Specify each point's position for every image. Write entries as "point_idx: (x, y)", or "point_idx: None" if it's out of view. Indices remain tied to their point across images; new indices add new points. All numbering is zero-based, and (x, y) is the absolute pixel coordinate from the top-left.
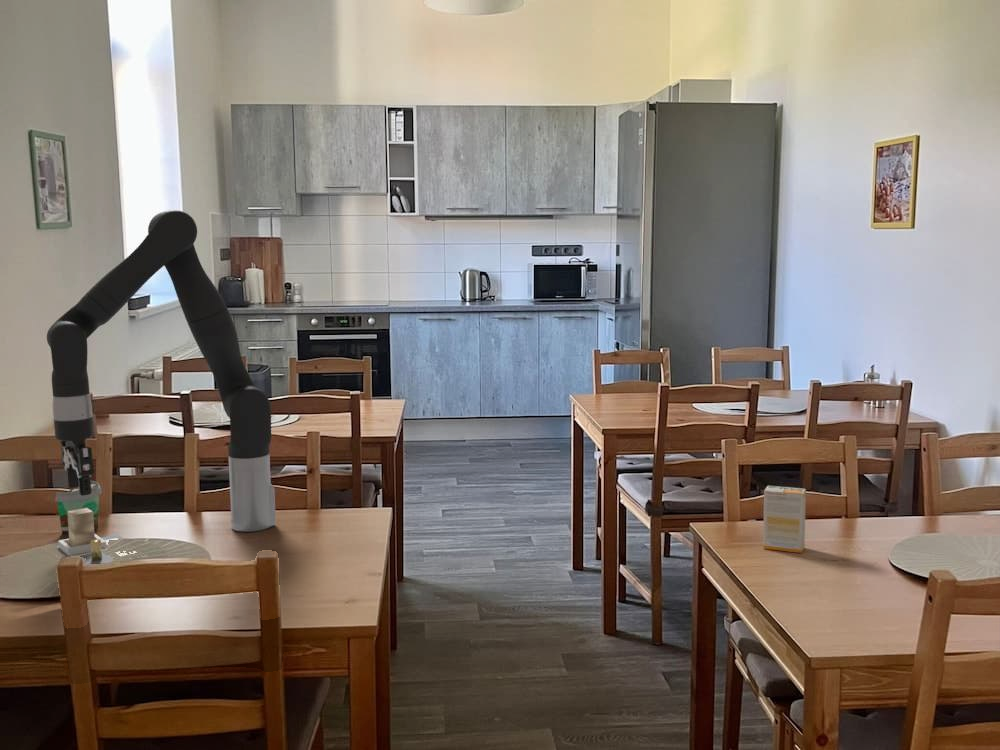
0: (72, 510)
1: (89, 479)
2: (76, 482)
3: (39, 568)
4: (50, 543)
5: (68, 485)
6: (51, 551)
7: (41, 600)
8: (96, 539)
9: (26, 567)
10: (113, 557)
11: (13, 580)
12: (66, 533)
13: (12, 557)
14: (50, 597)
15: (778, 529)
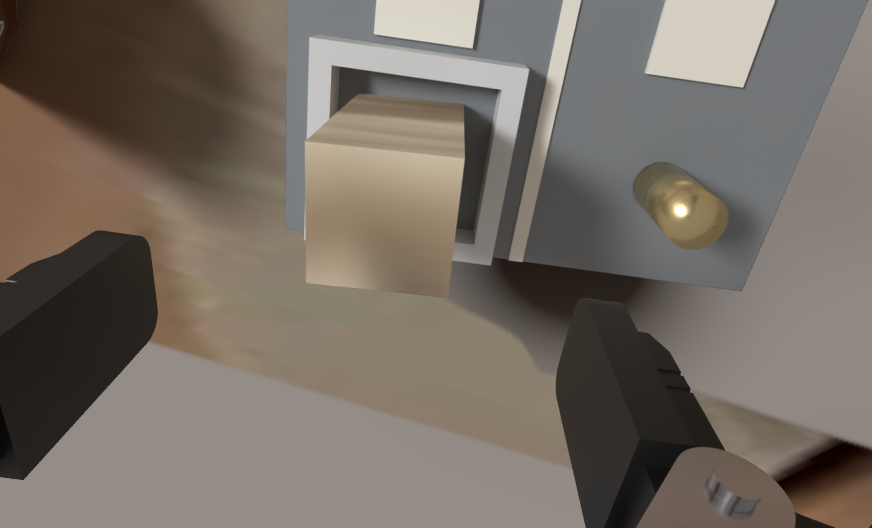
0: (308, 249)
1: (672, 423)
2: (118, 283)
3: (489, 352)
4: (146, 189)
5: (136, 348)
6: (285, 236)
7: (833, 465)
8: (678, 208)
9: (436, 376)
10: (707, 112)
11: (549, 448)
12: (2, 60)
13: (263, 364)
14: (837, 440)
15: None
